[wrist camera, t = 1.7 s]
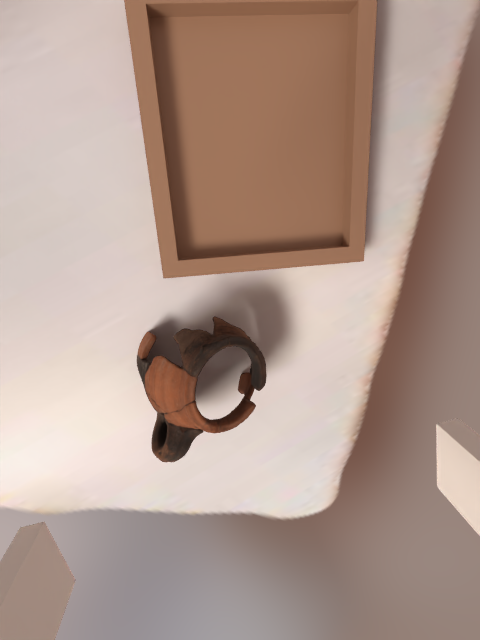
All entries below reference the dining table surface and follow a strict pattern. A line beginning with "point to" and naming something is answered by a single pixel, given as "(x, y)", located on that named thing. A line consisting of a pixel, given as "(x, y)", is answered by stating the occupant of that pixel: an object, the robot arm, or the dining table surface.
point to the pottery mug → (193, 386)
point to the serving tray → (255, 129)
